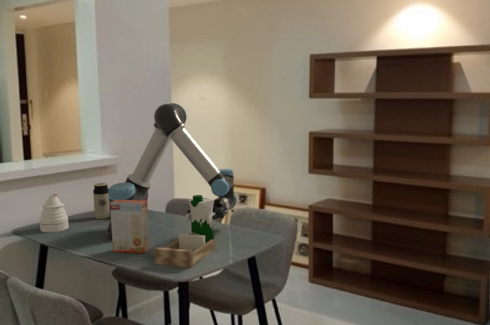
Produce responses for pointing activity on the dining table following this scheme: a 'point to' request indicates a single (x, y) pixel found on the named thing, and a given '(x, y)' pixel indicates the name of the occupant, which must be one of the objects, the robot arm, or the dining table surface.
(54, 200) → the honey pot
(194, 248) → the block
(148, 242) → the cracker box
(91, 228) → the dining table surface
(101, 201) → the travel mug
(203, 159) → the robot arm
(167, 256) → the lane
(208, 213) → the soya milk
